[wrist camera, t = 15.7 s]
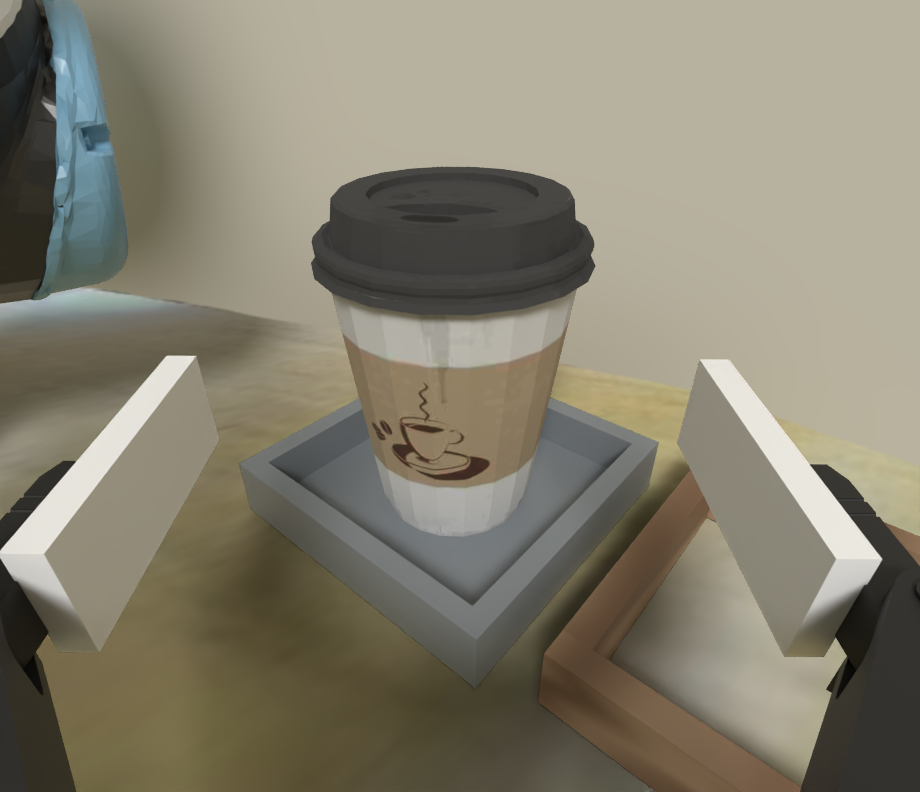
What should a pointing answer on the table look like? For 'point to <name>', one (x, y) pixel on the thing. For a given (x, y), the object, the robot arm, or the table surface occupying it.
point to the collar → (629, 700)
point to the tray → (451, 557)
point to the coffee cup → (453, 329)
